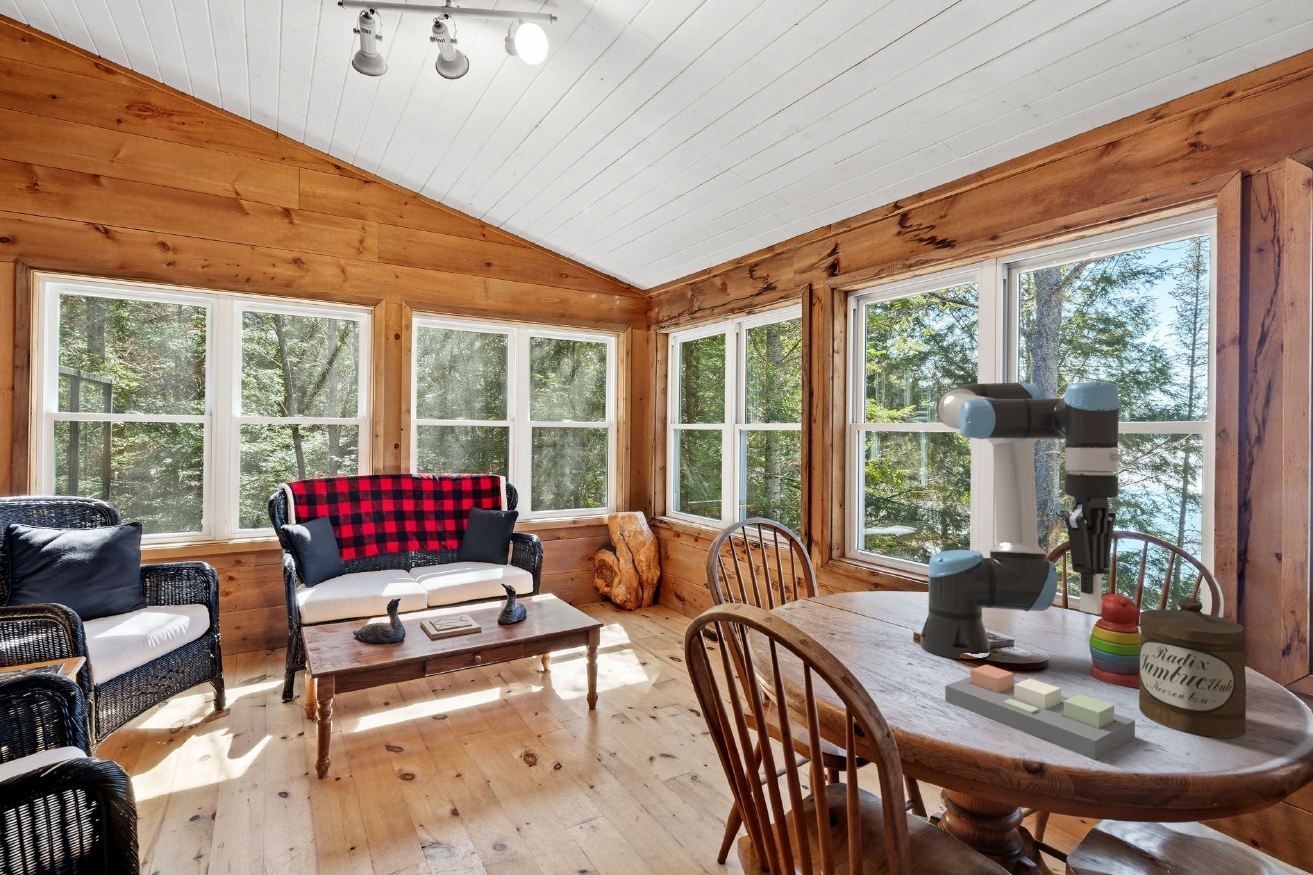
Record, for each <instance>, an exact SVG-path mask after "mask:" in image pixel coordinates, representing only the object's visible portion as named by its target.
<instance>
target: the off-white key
mask: <svg viewBox="0 0 1313 875" xmlns="http://www.w3.org/2000/svg"><path fill="white" fill-rule="evenodd" d="M1018 682H1019V683H1017V684H1014V699H1015V700H1018V701H1021V702H1024V703H1026V704H1029V705H1032V706H1035V707H1038V708H1041V709H1043V710H1048V709H1050V708H1052V707H1055V706H1057V705H1059V704H1061V696H1062V695H1061V694H1062V692H1061V690H1062V689H1061V687H1057V686H1055V685H1051V684H1048V683H1046V682H1041V681H1039V680H1036V679H1033V678H1027V679H1025V680H1023V681H1022V680H1021V681H1018Z"/></svg>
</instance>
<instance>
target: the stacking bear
mask: <svg viewBox="0 0 1313 875" xmlns="http://www.w3.org/2000/svg"><path fill="white" fill-rule="evenodd" d="M1140 614H1141V610H1140V609H1139V607H1138V606H1136V604H1135V603H1134V602H1133V600H1132V599H1130V598H1129V597H1128V596H1126V595H1123V594H1118V593H1117V594H1116V593H1114V594H1113V593H1112V592H1111V591H1107V592H1105V594H1104V596H1102V604H1101V613H1100V614H1099V615H1100V617H1101V618H1099V619H1098V620H1097V621H1095V623H1094V625H1093V627H1092V630H1091V634H1090V638H1089V652H1090V655H1091V656H1090V657H1091V661H1092V663H1093V665H1092V666H1091V667H1090V676H1092V677H1093V678H1096V679H1097V680H1100V681H1102V682H1106V683H1108V684H1109V683H1110V684H1113V685H1117V686H1121V687H1127V688H1134V689H1139V668H1140V646H1141V631H1140V627H1138V626H1137V624H1136V623H1135V622H1136V621H1137V620H1138V618H1140Z"/></svg>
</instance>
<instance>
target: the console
mask: <svg viewBox="0 0 1313 875" xmlns="http://www.w3.org/2000/svg"><path fill="white" fill-rule="evenodd" d="M970 680H971V676H970V677H967V678H964V679H960V680H958V681H954V682H952V683H948V684H946V685H945V686H944V687H945V688H944V689H945V691H944V692H945V693H944V694H945V695H944V698H945V699H944V700H945V702H947V703H950V704H952V705H955V706H958V707H960V708H963V709H965V710H966V711H967V710H968V711H970V712H973V713H975V714H978V715H980V716H982V717H986V718H988V719H990V720H993V721H995V722H997V723H1000V724H1003V725H1006V726H1008V727H1011V728H1014V729H1016V730H1019V731H1021V732H1023V733H1025V734H1028V735H1031V736H1034V737H1037V738H1038V739H1041V740H1044V741H1047V742H1049V743H1051V744H1055V745H1056V746H1059V747H1061V748H1064V749H1066V750H1068V751H1072V752H1074V753H1076V754H1078V755H1082V756H1084V757H1086V758H1087V757H1088V758H1090V759H1092V760H1097V759H1099V758H1101V757H1103V756H1104V755H1106V754H1108V753H1110V752H1111V751H1113V750H1115V749H1117V748H1119V747H1121V746H1122V745H1124V744H1126V743H1128V742H1130V741H1131V740H1133V739H1135V738H1136V720H1135V719H1132V718H1130V717H1127V716H1123V715H1121V714H1118V713H1116V712H1114V723H1112V724H1110V725H1108V726H1106V727H1104V728H1102V729H1097V728H1094V727H1091V726H1088V725H1086V724H1083V723H1080V722H1077V721H1074V720H1072V719H1069V718H1066V717H1064V701H1065V700H1067V699H1070V698H1068V697H1065V696H1064V695H1061V704H1059V705H1057V706H1055V707H1052V708H1050V709H1048V710H1043V709H1041V708H1038V707H1035V706H1032V705H1029V704H1026V703H1024V702H1021V701H1018V700H1015V699H1014V688H1012V689H1009V690H1006V691H1004V692H1001V693H995V692H993V691H990V690H987V689H984V688H981V687H979V686H976V685H973V684H970ZM1019 682H1020V681H1018V680H1015V679H1014V684H1017V683H1019Z"/></svg>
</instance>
